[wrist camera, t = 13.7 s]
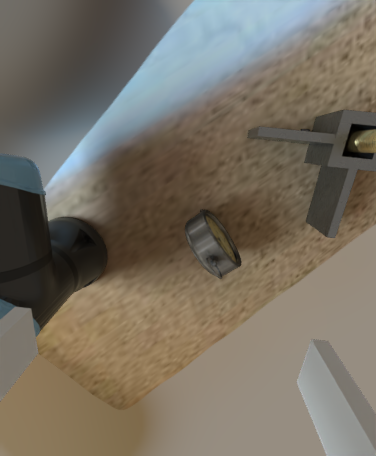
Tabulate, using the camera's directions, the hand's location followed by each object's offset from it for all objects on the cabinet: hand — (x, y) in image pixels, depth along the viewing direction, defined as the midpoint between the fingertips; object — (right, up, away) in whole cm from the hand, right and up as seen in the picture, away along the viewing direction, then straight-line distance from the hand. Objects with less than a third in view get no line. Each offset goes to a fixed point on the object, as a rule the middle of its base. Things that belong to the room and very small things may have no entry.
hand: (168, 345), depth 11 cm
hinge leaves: (+19, +16, +30) cm, 39 cm away
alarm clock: (+5, +5, +35) cm, 35 cm away
